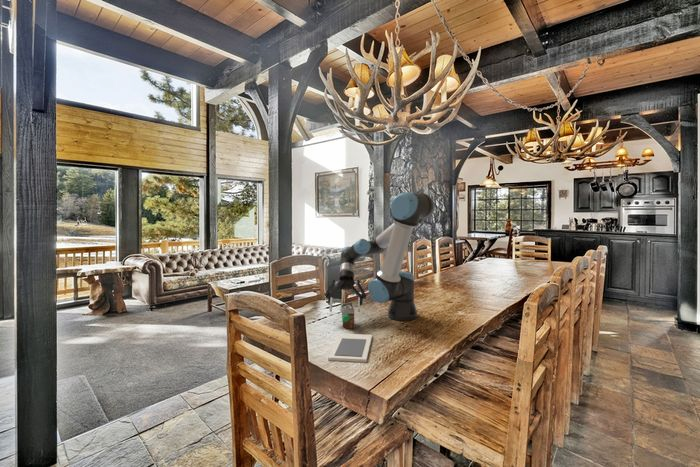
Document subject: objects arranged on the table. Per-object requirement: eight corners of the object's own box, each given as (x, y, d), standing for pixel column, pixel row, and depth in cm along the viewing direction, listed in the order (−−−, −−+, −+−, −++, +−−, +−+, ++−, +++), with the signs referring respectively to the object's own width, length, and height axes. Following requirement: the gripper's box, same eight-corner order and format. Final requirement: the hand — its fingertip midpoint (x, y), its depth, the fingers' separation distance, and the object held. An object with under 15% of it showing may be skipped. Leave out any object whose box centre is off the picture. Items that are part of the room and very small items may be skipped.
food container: (339, 322, 162) (339, 302, 161) (352, 321, 162) (351, 301, 162) (341, 331, 149) (340, 309, 149) (354, 330, 150) (354, 309, 149)
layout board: (372, 337, 142) (372, 334, 142) (366, 362, 118) (366, 358, 118) (340, 335, 144) (340, 332, 144) (328, 360, 120) (328, 356, 120)
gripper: (371, 277, 173) (371, 314, 159) (324, 277, 175) (319, 314, 161) (370, 269, 167) (370, 307, 153) (322, 269, 169) (317, 306, 155)
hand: (344, 310), depth 157 cm, fingers open, 13 cm apart
